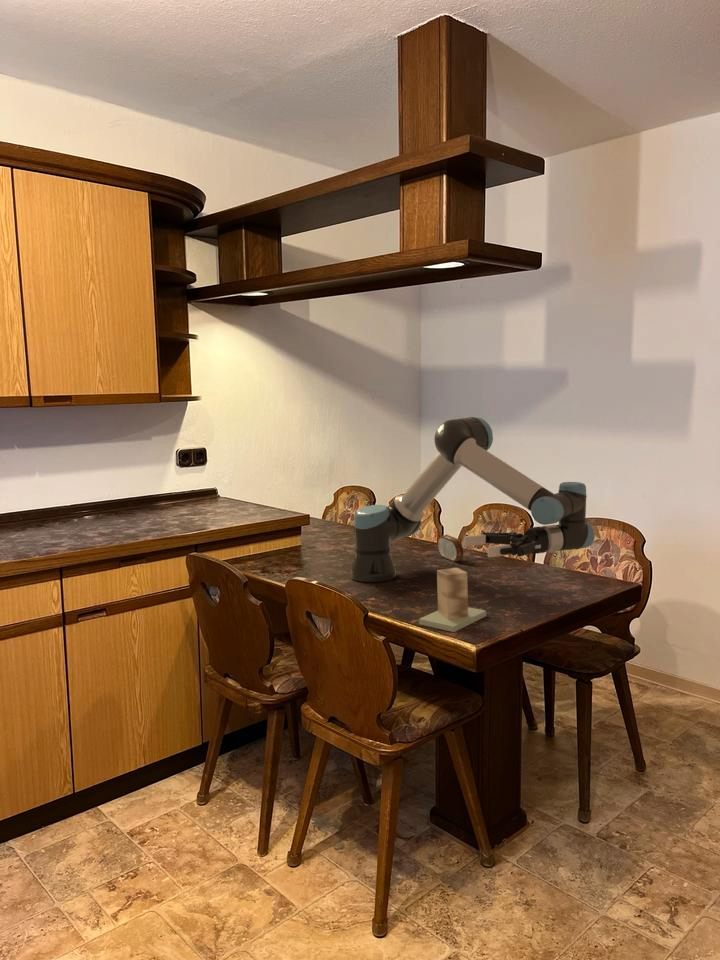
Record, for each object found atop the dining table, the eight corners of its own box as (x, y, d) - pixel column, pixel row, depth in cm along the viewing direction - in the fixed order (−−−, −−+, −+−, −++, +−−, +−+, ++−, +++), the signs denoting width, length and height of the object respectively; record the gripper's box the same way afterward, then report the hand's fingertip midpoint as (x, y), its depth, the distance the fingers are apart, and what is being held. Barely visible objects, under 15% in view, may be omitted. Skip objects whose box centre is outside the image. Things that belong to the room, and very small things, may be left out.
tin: (464, 563, 259) (463, 540, 258) (456, 564, 258) (456, 541, 257) (444, 554, 273) (443, 532, 272) (436, 555, 272) (436, 533, 271)
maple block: (457, 610, 201) (456, 567, 200) (468, 616, 196) (467, 572, 194) (437, 613, 199) (436, 570, 198) (447, 619, 194) (446, 575, 192)
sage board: (452, 609, 207) (452, 604, 207) (486, 616, 200) (486, 610, 200) (419, 624, 195) (418, 618, 195) (453, 632, 188) (453, 626, 188)
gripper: (568, 562, 196) (499, 570, 190) (519, 543, 220) (455, 550, 213) (569, 535, 195) (499, 542, 189) (519, 518, 219) (455, 524, 212)
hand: (475, 546), depth 201 cm, fingers open, 13 cm apart
